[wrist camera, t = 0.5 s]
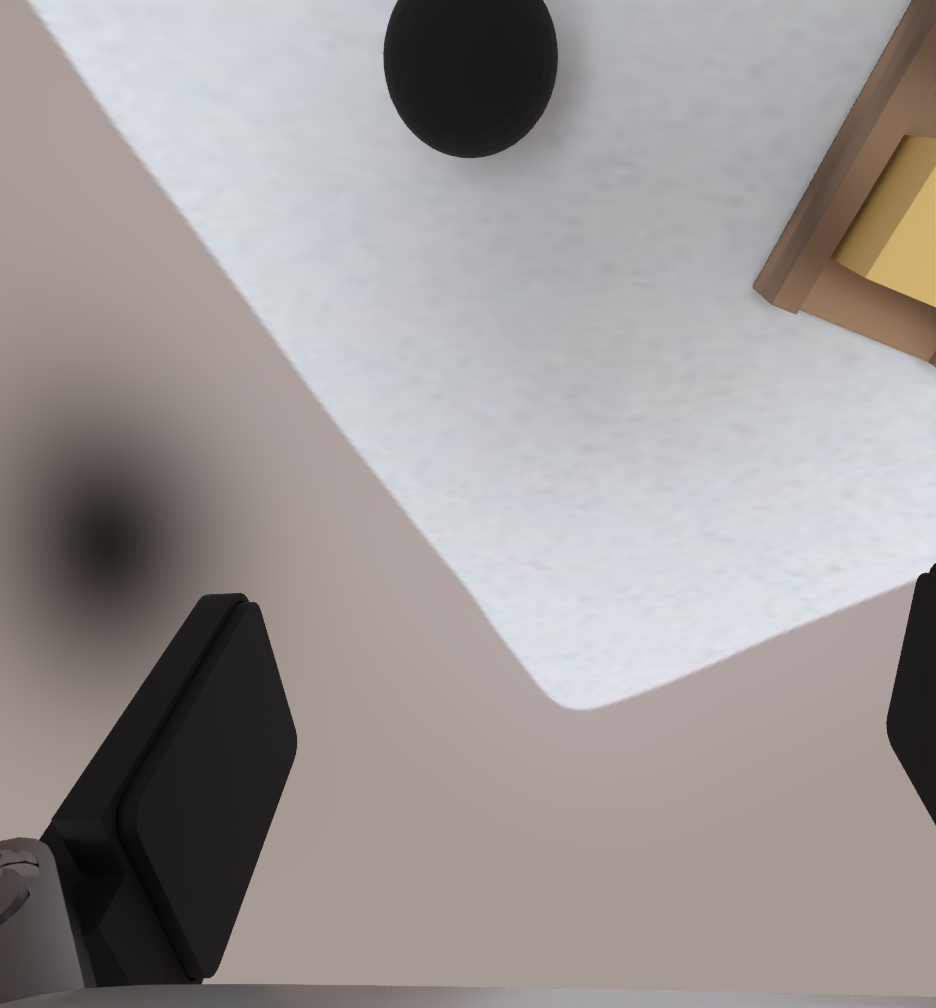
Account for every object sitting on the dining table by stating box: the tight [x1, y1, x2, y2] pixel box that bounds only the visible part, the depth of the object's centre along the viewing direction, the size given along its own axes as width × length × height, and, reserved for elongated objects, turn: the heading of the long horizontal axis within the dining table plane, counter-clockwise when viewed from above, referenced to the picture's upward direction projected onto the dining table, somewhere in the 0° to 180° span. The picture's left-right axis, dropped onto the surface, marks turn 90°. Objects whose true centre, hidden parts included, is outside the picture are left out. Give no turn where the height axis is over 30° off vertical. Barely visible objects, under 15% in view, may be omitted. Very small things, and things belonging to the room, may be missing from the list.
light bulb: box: [383, 0, 558, 158], centre depth 27 cm, size 6×6×10 cm
